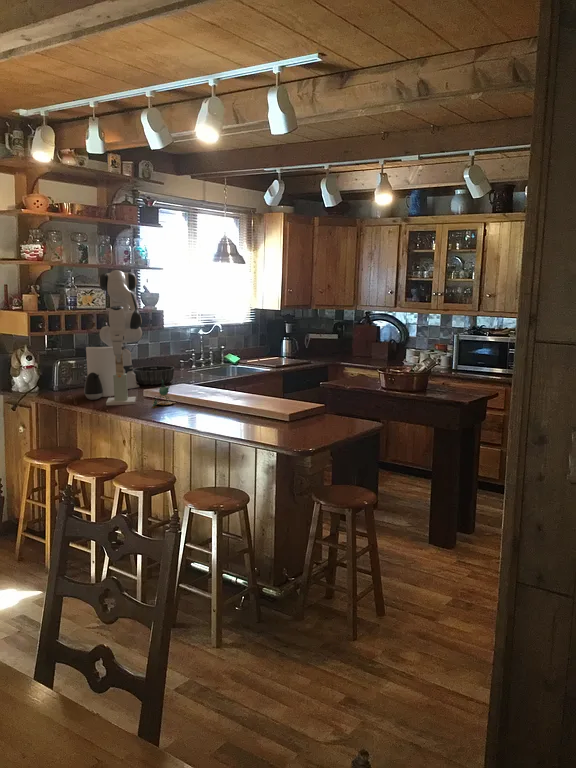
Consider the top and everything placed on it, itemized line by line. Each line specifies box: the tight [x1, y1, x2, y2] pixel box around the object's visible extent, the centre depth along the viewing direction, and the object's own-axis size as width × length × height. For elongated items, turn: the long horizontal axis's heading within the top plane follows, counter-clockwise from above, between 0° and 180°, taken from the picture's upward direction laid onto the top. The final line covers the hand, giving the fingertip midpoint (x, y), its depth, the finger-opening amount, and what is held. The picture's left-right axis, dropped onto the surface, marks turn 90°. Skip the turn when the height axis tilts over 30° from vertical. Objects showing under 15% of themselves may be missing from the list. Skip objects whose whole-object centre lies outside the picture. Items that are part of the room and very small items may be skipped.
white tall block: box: [85, 346, 116, 398], centre depth 400 cm, size 17×17×28 cm
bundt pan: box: [132, 365, 175, 386], centre depth 438 cm, size 26×26×10 cm
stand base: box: [105, 373, 137, 406], centre depth 375 cm, size 15×15×16 cm
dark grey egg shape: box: [83, 372, 103, 401], centre depth 386 cm, size 10×10×15 cm
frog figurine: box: [151, 380, 177, 409], centre depth 366 cm, size 10×18×15 cm, turn 137°
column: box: [115, 345, 125, 375], centre depth 373 cm, size 6×6×26 cm
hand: (119, 361), depth 372 cm, fingers closed on column, 4 cm apart
